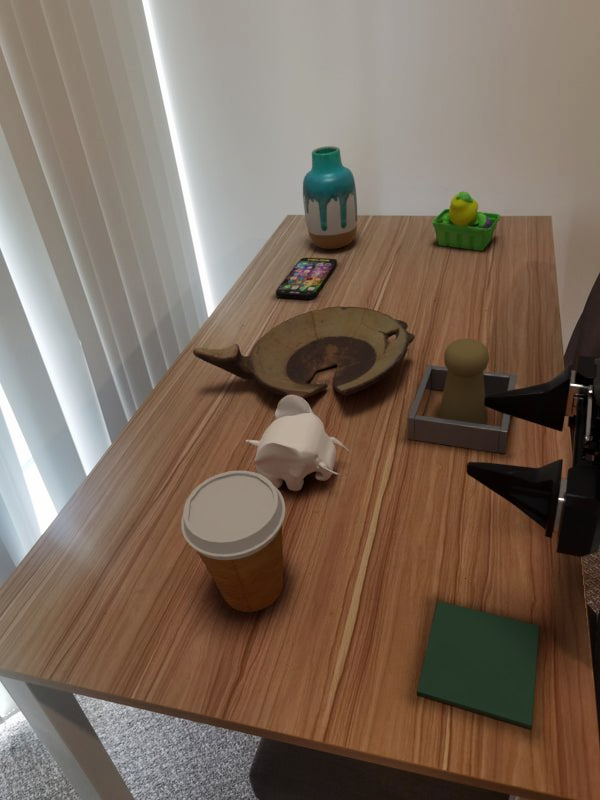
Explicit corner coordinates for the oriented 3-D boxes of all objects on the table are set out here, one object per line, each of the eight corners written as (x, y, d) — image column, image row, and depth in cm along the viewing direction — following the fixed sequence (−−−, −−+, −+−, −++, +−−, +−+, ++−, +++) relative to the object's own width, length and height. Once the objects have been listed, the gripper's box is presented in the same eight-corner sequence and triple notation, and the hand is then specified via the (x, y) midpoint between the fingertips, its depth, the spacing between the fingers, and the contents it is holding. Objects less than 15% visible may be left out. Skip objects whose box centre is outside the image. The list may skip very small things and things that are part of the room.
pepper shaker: (474, 438, 74) (480, 364, 67) (430, 422, 77) (431, 351, 71) (494, 411, 78) (502, 339, 71) (451, 397, 81) (454, 327, 74)
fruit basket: (499, 238, 118) (504, 181, 111) (484, 257, 113) (489, 197, 106) (444, 232, 124) (446, 177, 117) (427, 249, 118) (428, 192, 111)
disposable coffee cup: (236, 536, 66) (214, 457, 59) (314, 562, 62) (301, 480, 55) (188, 608, 59) (156, 528, 52) (271, 641, 56) (250, 561, 48)
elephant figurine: (340, 508, 67) (334, 450, 62) (240, 498, 71) (226, 442, 65) (354, 451, 75) (350, 394, 69) (263, 444, 78) (252, 389, 72)
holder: (514, 395, 80) (516, 374, 77) (504, 454, 71) (507, 431, 69) (426, 385, 84) (426, 364, 81) (408, 439, 75) (407, 417, 73)
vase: (298, 251, 125) (286, 156, 113) (326, 232, 131) (318, 140, 119) (341, 259, 119) (333, 160, 108) (368, 239, 126) (364, 143, 114)
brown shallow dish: (406, 424, 78) (405, 376, 73) (192, 412, 85) (179, 368, 80) (419, 333, 94) (419, 289, 90) (239, 329, 102) (231, 289, 97)
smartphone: (273, 292, 109) (301, 257, 120) (273, 297, 109) (301, 261, 120) (313, 295, 106) (338, 258, 117) (314, 300, 107) (339, 263, 118)
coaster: (538, 629, 53) (539, 625, 53) (531, 729, 47) (532, 725, 47) (437, 604, 57) (437, 600, 56) (416, 694, 50) (416, 691, 50)
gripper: (698, 309, 48) (496, 298, 54) (729, 466, 35) (457, 429, 41) (667, 417, 55) (490, 396, 61) (684, 583, 41) (455, 536, 47)
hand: (476, 432), depth 52 cm, fingers open, 9 cm apart
